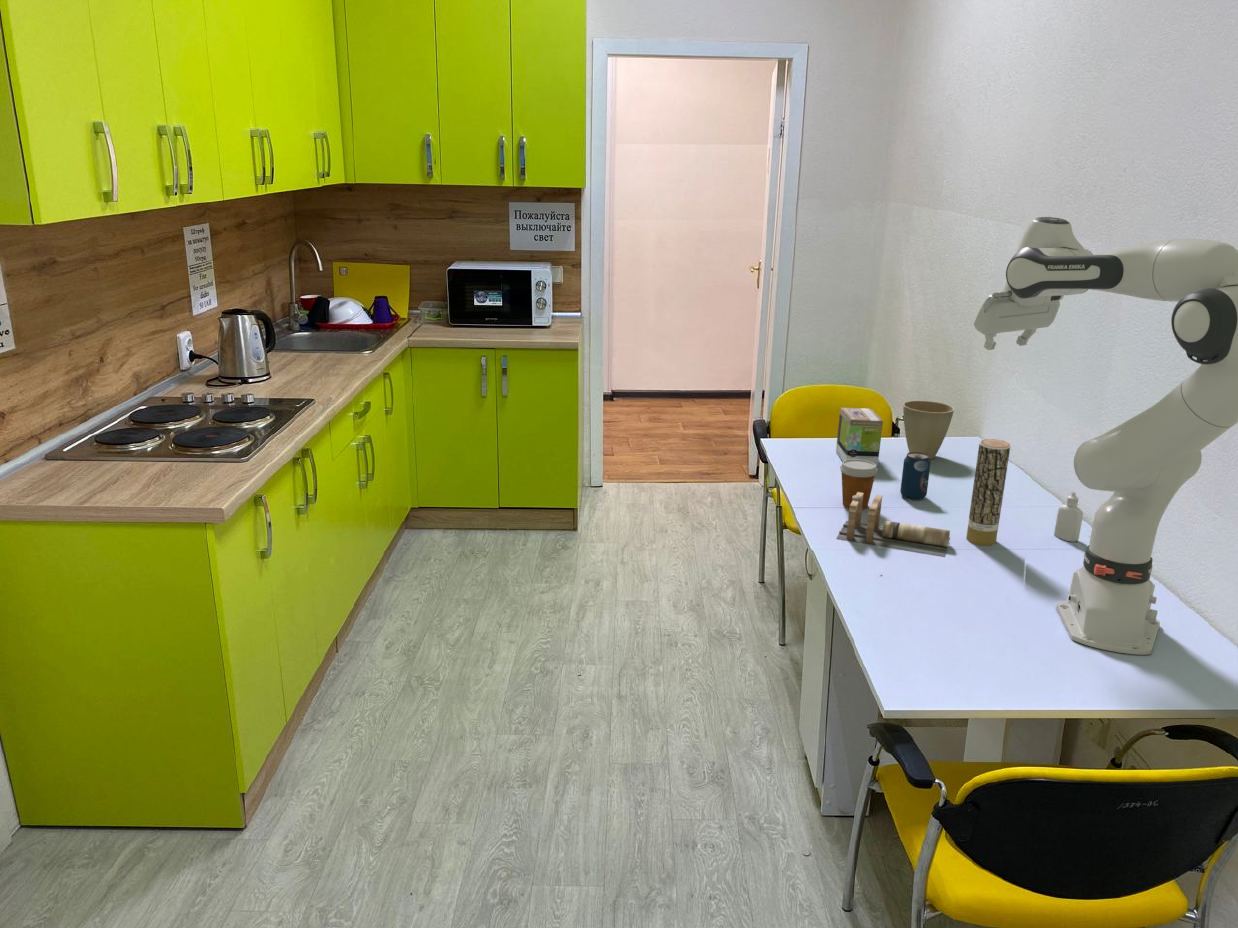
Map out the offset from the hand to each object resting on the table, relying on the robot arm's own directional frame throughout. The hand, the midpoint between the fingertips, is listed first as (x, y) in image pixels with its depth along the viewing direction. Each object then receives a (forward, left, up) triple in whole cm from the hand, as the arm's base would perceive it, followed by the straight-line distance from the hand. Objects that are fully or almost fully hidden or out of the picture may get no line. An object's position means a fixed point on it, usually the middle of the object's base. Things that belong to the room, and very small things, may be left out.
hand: (1004, 346), depth 214 cm
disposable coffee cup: (+12, +31, -48) cm, 59 cm away
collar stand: (-6, +19, -48) cm, 52 cm away
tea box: (+55, +38, -48) cm, 82 cm away
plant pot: (+67, +20, -48) cm, 85 cm away
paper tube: (+1, -1, -48) cm, 48 cm away
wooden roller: (-7, +14, -47) cm, 50 cm away
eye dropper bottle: (+13, -20, -48) cm, 54 cm away
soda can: (+27, +18, -48) cm, 58 cm away
